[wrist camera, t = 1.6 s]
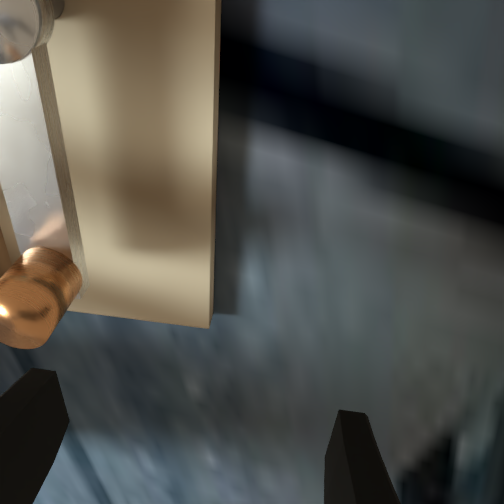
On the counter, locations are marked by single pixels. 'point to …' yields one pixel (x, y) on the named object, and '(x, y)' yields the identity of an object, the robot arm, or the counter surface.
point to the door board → (139, 153)
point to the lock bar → (35, 182)
